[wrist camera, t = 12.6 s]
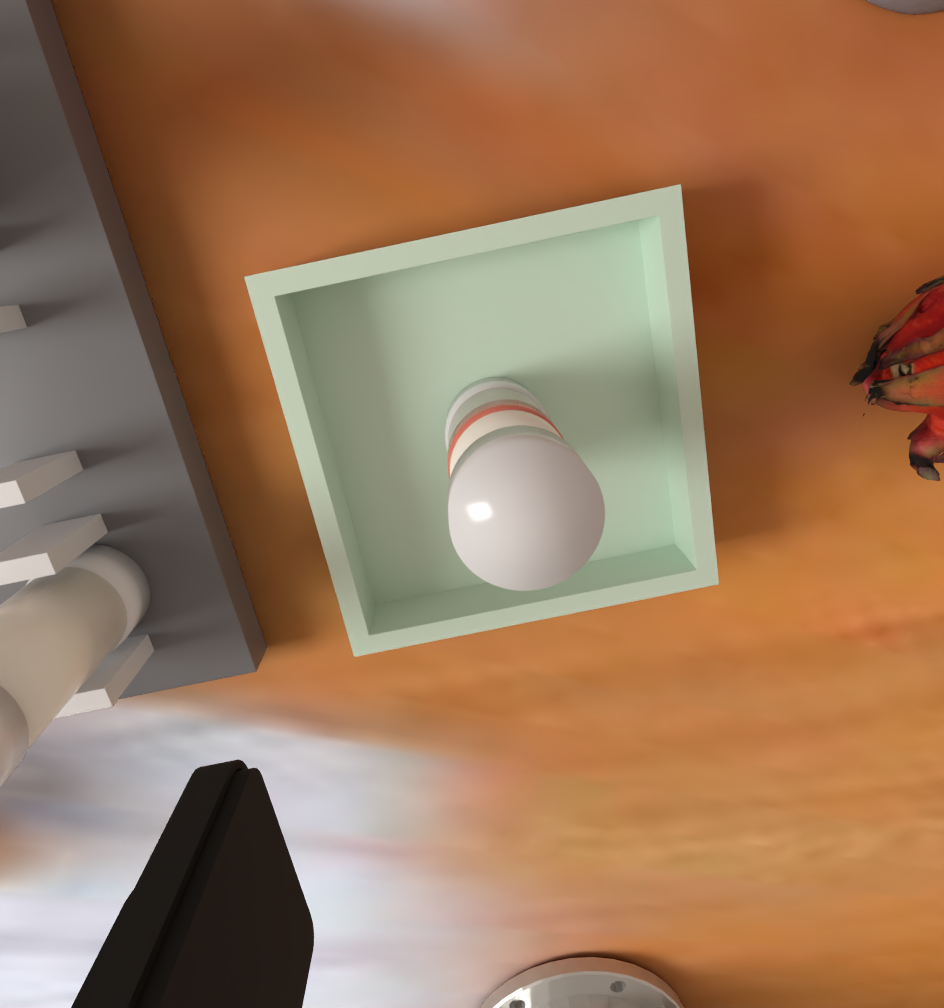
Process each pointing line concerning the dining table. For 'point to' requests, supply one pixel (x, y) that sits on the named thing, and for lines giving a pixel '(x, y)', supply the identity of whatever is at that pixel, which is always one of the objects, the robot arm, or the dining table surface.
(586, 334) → the tray
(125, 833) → the dining table surface
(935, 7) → the pillar candle
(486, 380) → the cylinder
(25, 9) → the fuse holder
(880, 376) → the dark red rosette
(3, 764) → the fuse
